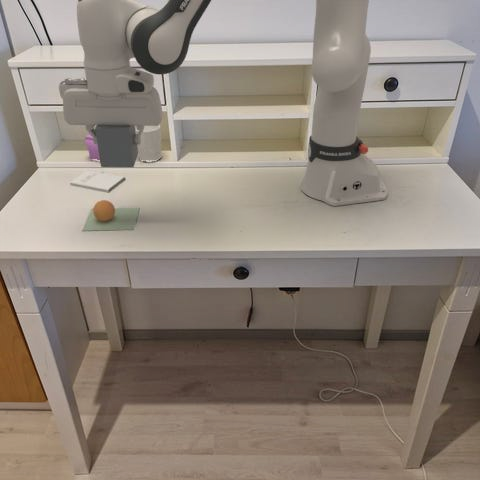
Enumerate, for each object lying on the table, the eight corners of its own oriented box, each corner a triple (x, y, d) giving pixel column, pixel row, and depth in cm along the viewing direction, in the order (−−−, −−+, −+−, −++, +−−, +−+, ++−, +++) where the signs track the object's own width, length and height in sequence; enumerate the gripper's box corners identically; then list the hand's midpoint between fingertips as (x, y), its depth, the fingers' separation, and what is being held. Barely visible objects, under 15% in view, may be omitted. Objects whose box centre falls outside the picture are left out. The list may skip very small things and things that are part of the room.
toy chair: (85, 160, 141) (75, 111, 133) (102, 149, 148) (93, 102, 140) (109, 164, 139) (100, 115, 130) (124, 152, 146) (117, 105, 137)
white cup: (158, 164, 138) (154, 132, 133) (133, 162, 140) (128, 130, 134) (167, 153, 145) (163, 122, 139) (143, 152, 146) (138, 121, 140)
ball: (106, 217, 116) (121, 207, 114) (102, 228, 112) (117, 217, 110) (91, 203, 113) (106, 192, 112) (86, 214, 109) (101, 203, 108)
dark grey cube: (138, 153, 108) (134, 116, 103) (133, 167, 102) (129, 129, 97) (107, 153, 107) (101, 116, 102) (101, 167, 102) (94, 128, 97)
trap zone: (139, 208, 117) (139, 207, 117) (133, 230, 109) (133, 229, 109) (91, 209, 117) (91, 208, 117) (82, 231, 109) (81, 230, 109)
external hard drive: (109, 194, 125) (70, 186, 128) (126, 181, 131) (89, 174, 135) (108, 189, 124) (69, 181, 127) (125, 176, 130) (88, 169, 134)
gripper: (52, 83, 91) (65, 148, 99) (157, 84, 92) (162, 149, 100) (61, 74, 97) (73, 137, 105) (160, 75, 97) (165, 138, 105)
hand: (117, 143), depth 102 cm, fingers closed on dark grey cube, 7 cm apart
